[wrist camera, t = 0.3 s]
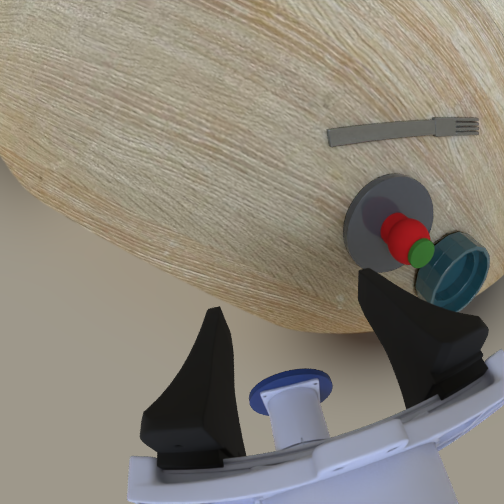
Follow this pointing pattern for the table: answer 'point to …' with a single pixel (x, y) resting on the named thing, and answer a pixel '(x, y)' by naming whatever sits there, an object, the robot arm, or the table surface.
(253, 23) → the table surface
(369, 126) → the fork
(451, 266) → the bowl
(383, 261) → the plate
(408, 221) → the strawberry
